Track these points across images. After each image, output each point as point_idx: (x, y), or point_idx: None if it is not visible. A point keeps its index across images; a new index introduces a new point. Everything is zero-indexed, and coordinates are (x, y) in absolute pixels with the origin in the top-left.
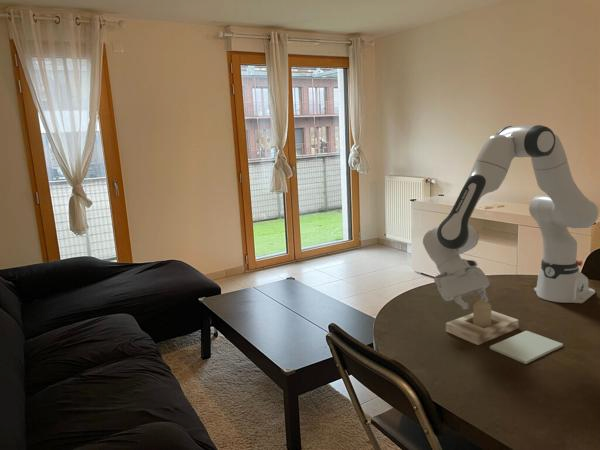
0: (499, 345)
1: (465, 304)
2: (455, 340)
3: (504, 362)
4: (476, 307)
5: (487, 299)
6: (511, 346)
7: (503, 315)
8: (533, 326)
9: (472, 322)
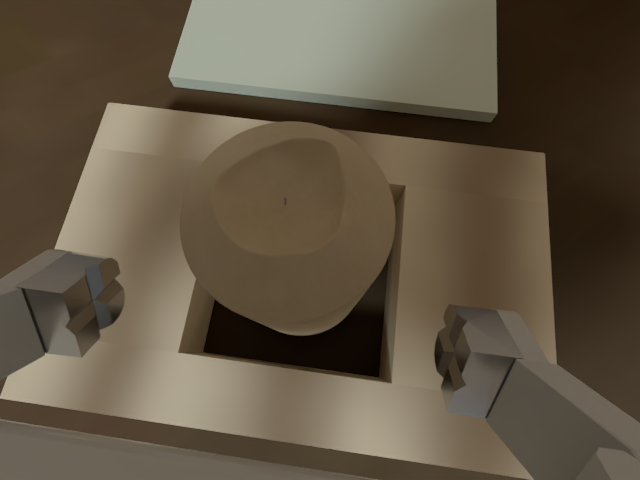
0: (449, 85)
1: (522, 337)
2: (570, 312)
3: (550, 21)
4: (394, 230)
5: (66, 253)
6: (412, 44)
7: (86, 205)
8: (64, 97)
9: (283, 365)
